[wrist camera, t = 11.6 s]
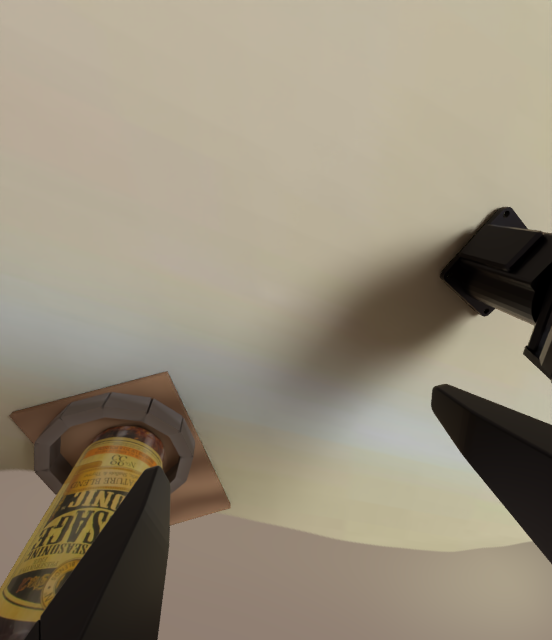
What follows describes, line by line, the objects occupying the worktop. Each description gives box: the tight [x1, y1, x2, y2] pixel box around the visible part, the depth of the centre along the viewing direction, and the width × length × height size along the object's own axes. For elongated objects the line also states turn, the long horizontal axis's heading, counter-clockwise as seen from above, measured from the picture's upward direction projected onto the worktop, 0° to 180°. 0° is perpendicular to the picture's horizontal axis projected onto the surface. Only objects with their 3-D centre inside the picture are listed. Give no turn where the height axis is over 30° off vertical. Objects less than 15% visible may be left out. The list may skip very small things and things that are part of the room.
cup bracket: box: [10, 371, 230, 525], centre depth 25 cm, size 18×12×2 cm, turn 12°
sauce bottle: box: [0, 426, 165, 640], centre depth 15 cm, size 7×6×20 cm
